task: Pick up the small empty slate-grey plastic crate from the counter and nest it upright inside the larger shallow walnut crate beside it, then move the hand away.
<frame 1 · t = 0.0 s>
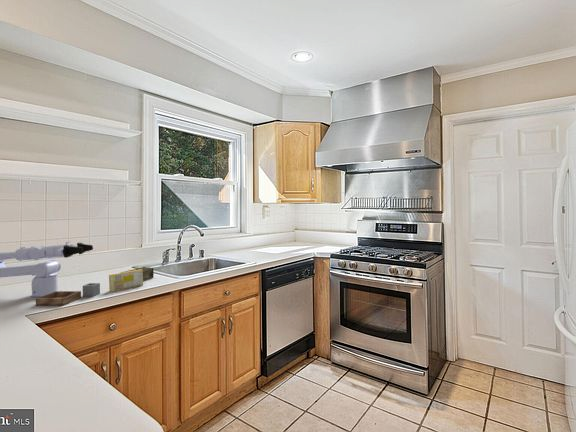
hand: (87, 248, 152), 22 cm above the counter, tool horizontal, fingers open, 7 cm apart
walnut crate: (59, 301, 142), on the counter
beverage carton: (136, 281, 180), on the counter
candy box: (126, 288, 165), on the counter
slate crate: (91, 295, 152), on the counter
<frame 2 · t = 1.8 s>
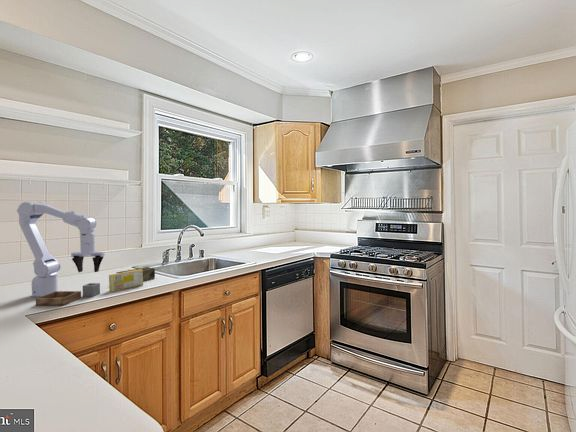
hand: (88, 271, 154), 11 cm above the counter, tool pointing down, fingers open, 7 cm apart
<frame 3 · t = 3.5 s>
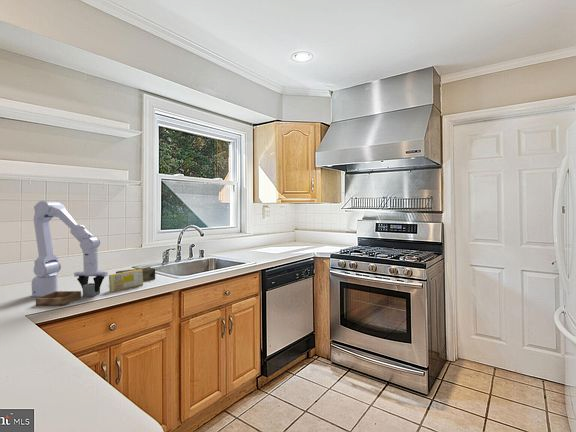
hand: (91, 291, 152), 2 cm above the counter, tool pointing down, fingers closed on slate crate, 5 cm apart
slate crate: (91, 295, 152), on the counter, touching gripper
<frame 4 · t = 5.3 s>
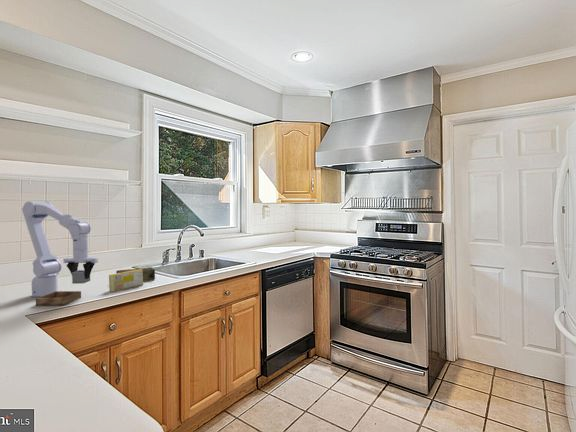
hand: (81, 278, 148), 9 cm above the counter, tool pointing down, fingers closed on slate crate, 5 cm apart
slate crate: (81, 282, 148), point 7 cm above the counter, touching gripper
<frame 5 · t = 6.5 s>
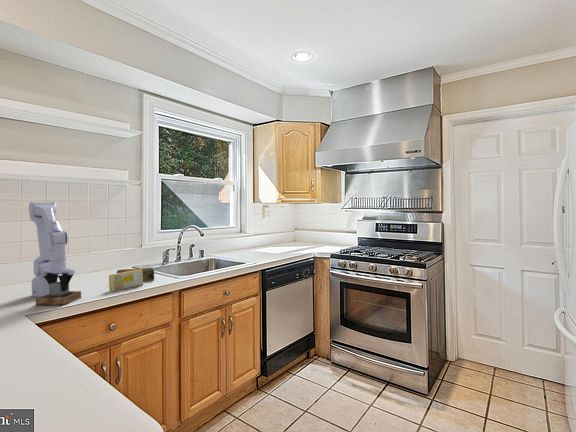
hand: (59, 290, 142), 5 cm above the counter, tool pointing down, fingers closed on slate crate, 5 cm apart
slate crate: (59, 294, 142), point 3 cm above the counter, touching gripper
when the fingers open (4 cm above the counter, at t = 7.2 s): slate crate drops 1 cm, resting on walnut crate.
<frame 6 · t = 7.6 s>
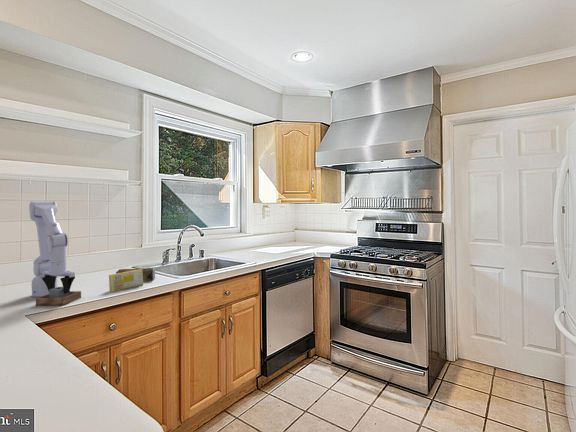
hand: (59, 292, 142), 4 cm above the counter, tool pointing down, fingers open, 7 cm apart
slate crate: (59, 299, 142), point 1 cm above the counter, touching walnut crate
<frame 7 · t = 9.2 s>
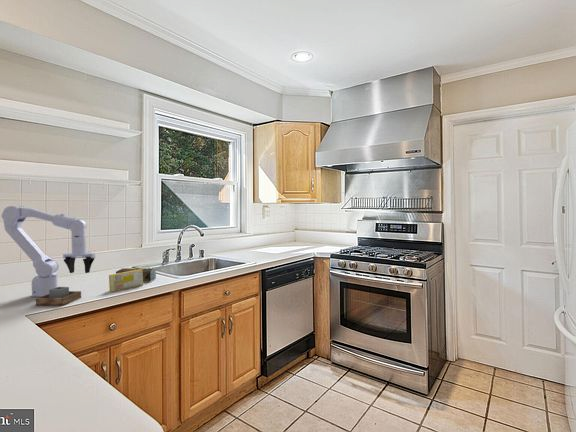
hand: (79, 272, 157), 9 cm above the counter, tool pointing down, fingers open, 7 cm apart
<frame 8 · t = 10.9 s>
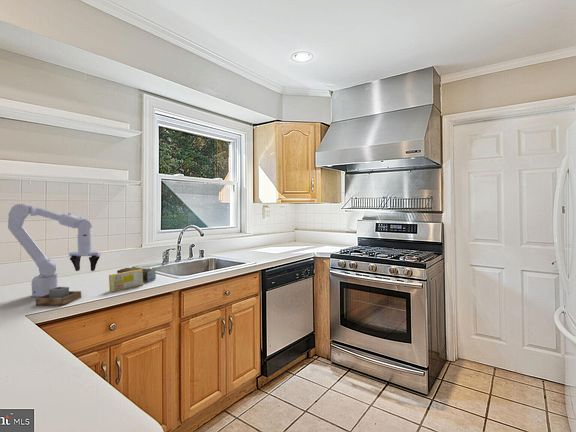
hand: (85, 270, 161), 9 cm above the counter, tool pointing down, fingers open, 7 cm apart
at the end: slate crate 0.1 cm off-centre on the walnut crate, point 0.8 cm above the walnut crate's base; slate crate tilted 0°; the gripper is holding nothing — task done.
